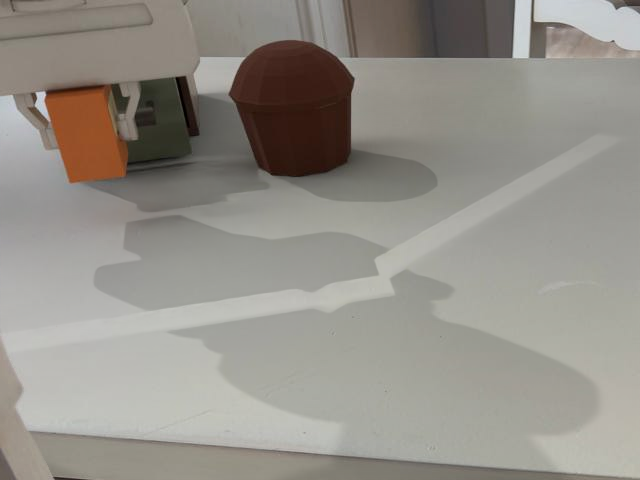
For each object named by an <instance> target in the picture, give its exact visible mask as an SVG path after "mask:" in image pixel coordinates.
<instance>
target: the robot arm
mask: <svg viewBox="0 0 640 480" xmlns="http://www.w3.org/2000/svg"><path fill="white" fill-rule="evenodd" d="M188 1H189V0H0V97H7V96H12V98H13V101H14V104H15V107H16V110H17V111H18V112H19V113H20V114H21V115H22V116H23V117H24V118H25V119H26V120H27V121H28V122H29V123H30V124H31V125H32V126H33V127H34V128H35V129H36V130H38V132H39V134H40V138H41V141H42V144H43V148H44V150H45V151H54V150H59V147H58V144H57V141H56V137H55V134H54V131H53V128H52V124H51V121H50V120H48V118H46V117H45V115H44V114H43V113H42V112H41V111H40V110H39V109H38V107H36V104H37V100H38V96H37V93H43V92H44V93H45V91H53V90H62V89H71V88H80V87H89V86H99V85H108V84H117V83H119V85H120V89H121V93H122V96H123V97H129V100H128V103H127V107H126V110H125V113H124V114H117V115H116V118H115V123H116V127H117V130H118V137H119V140H120V142H122V141H131V140H138V130H137V126H136V123H135V119H134V115H135V112H136V108H137V105H138V102H139V98H140V93H141V87H140V83H139V81H144V80H153V79H162V78H171V77H180V76H189V75H192V74H193V75H194V74H195V73H196V72H197V71H196V70H197V69H198V67H199V66H200V63H201V54H200V50H199V45H198V41H197V38H196V34H195V30H194V27H193V24H192V21H191V16H190V14H189V11H188V9H187V8H188V7H187V3H188ZM129 95H130V96H129Z"/></svg>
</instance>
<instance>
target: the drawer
mask: <svg viewBox="0 0 640 480" xmlns="http://www.w3.org/2000/svg"><path fill="white" fill-rule="evenodd" d="M139 83H140V87H141V93H140V98H139V102H138V105H137V108H136V112H135V115H134V119H135V123H136V126H137V130H138V140H131V141H125V142H126V146H127V149H128V160H127V164H130V163H137V162H145V161H153V160H159V159H166V158H167V159H168V158H173V157H182V156H188V155H189V156H190V155H193V148H192V144H191V139H190V136H189V134H188V130H187V126H186V122H185V118H184V108H183V103H182V99H181V95H180V91H179V86H178V82H177V78H176V77H171V78H162V79H153V80H144V81H139ZM110 86H111V89H112V93H113V97H114V101H115V104H116V108H117V112H118V114H124V113H125V110H126V107H127V103H128V100H129V97H123V96H122V93H121V89H120V85H119V83H117V84H110ZM44 93H45V95H46V94H47V91H44ZM129 96H130V95H129Z"/></svg>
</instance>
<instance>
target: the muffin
mask: <svg viewBox="0 0 640 480" xmlns="http://www.w3.org/2000/svg"><path fill="white" fill-rule="evenodd" d="M355 80H356V77H355V76H354V75H353V74H352V73H351V72H350V70H349V68H347V67H346V65H345V64H344V62H342V61H341V59H340V58H339V57H337V56H336V55H335V54H333V53H332V52H331V51H330V50H329V51H328V50H327V49H325V48H323V47H322V46H319V45H317V44H316V43H313V42H312V41H311V42H310V41H305V40H298V39H284V40H276V41H272V42H269V43H266V44H263V45H261V46H259V47H257V48H255V49H254V50H253V51H252V52H250V53H249V54H248V55H247V56H246V57H245V58H244V59H243V60H242V61H241V63H240V64H239V66H238V69H237V71H236V73H235V75H234V78H233V81H232V84H231V87H230V90H229V92H228V94H227V95H228V96H229V97H230V99H231V100H232V102H233V103H234V104H235V106H236V110H237V112H238V114H239V118H240V120H241V124H242V126H243V129H244V131H245V134H246V137H247V140H248V142H249V146H250V148H251V151H252V154H253V157H254V159H255V162H256V165H257V168H259V169H261V170H264V171H266V172H267V173H268V174H269V175H271V176H289V177H290V176H291V177H303V176H307V175H313V174H320V173H321V174H322V173H328V172H330V171H332V170H333V169H335V168H337V167H339V166H342V165H345V164H347V163H348V162H349V156H350V155H351V153H352V92H353V89H354V87H355Z"/></svg>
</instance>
